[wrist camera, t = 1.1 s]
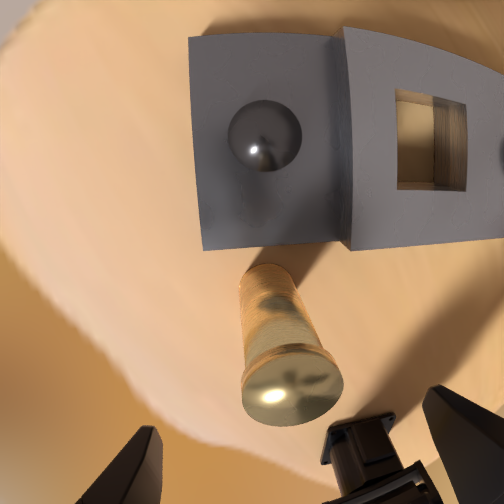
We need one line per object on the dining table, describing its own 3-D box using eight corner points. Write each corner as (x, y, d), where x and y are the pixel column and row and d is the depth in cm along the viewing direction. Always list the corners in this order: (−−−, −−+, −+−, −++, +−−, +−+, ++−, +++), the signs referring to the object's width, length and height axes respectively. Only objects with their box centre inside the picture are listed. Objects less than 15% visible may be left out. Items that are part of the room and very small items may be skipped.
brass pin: (296, 312, 17) (336, 418, 10) (237, 317, 17) (245, 431, 9) (296, 257, 16) (349, 351, 8) (232, 262, 16) (237, 365, 8)
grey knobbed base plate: (507, 222, 16) (543, 239, 13) (205, 240, 15) (198, 272, 12) (510, 94, 13) (548, 94, 9) (192, 47, 12) (180, 16, 8)
